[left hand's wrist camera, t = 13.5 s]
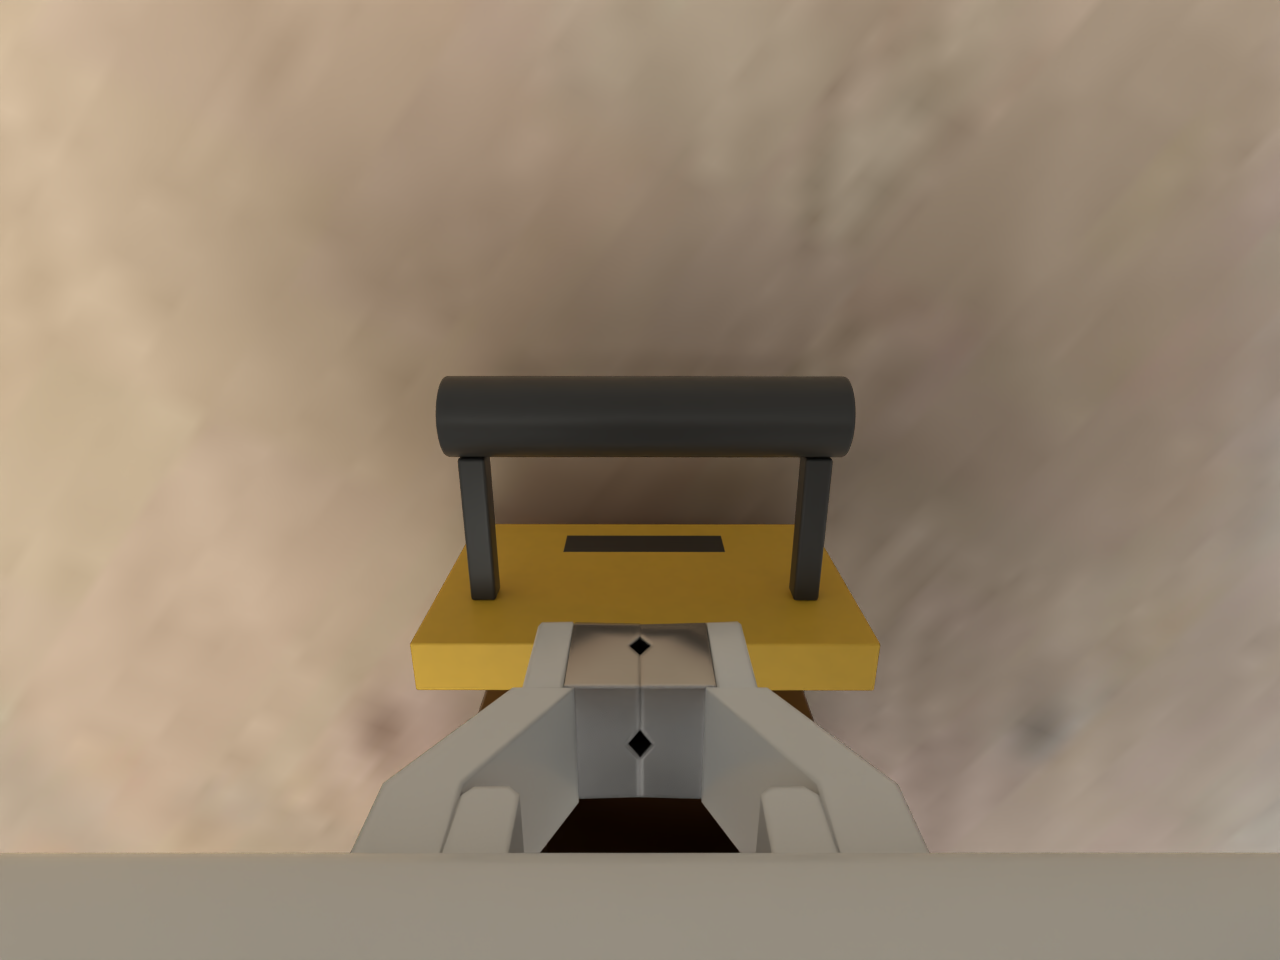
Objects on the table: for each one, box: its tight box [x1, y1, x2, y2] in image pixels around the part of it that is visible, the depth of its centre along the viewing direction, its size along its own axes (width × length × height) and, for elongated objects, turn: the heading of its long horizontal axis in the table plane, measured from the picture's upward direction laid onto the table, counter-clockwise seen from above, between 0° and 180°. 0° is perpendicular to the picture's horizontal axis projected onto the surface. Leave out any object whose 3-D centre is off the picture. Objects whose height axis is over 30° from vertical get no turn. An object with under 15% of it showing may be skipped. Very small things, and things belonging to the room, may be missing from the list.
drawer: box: [410, 376, 880, 853], centre depth 19 cm, size 22×10×6 cm, turn 0°
